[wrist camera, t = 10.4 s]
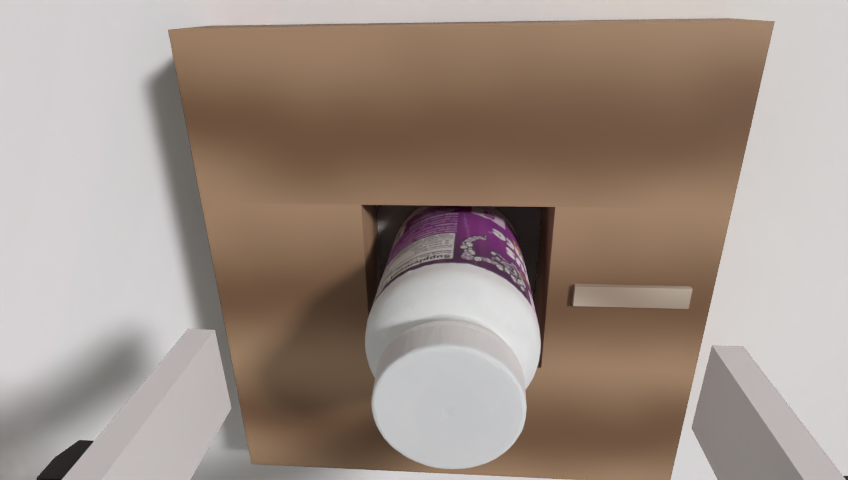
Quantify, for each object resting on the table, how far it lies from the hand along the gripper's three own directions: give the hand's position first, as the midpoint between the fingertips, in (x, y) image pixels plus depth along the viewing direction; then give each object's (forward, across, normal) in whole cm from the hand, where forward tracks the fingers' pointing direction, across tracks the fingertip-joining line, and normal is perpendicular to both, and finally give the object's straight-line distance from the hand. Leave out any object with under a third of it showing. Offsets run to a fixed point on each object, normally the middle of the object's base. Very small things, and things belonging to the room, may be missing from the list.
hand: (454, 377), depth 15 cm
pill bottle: (+9, 0, 0) cm, 9 cm away
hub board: (+8, 0, 0) cm, 8 cm away
